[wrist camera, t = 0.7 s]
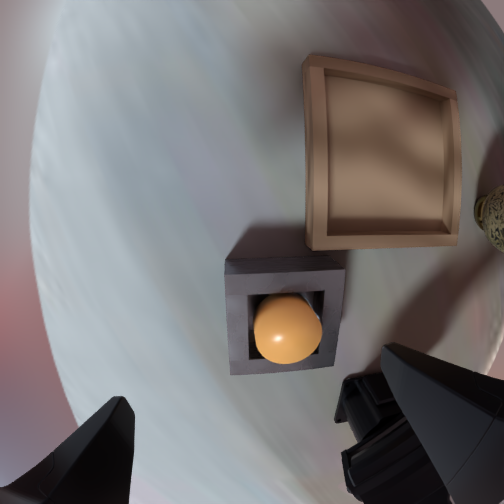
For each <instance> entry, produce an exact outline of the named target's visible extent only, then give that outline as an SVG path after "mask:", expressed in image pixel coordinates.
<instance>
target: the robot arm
mask: <svg viewBox="0 0 504 504" xmlns="http://www.w3.org/2000/svg"><path fill="white" fill-rule="evenodd" d="M381 369H382V371H383V372H382V373H377V374H373V375H368V376H363V377H358V378H352V379H347V380H345V381H344V382H343V383H342V388H341V392H340V397H339V401H338V405H337V409H336V413H335V417H334V421H335V423H342V422H347V421H348V423H349V425H350V427H351V429H352V431H353V433H354V436H355V438H356V440H357V442H358V443H357V444H356V445H354V446H352V447H351V448H349V449H347V450H344V451H343V452H341V455H342V464H343V470H344V476H345V482H346V486H347V491H348V492H349V493H351V494H353V495H354V497H355V498H356V499H358V500H359V501H361V502H363V503H364V504H504V380H500V379H497V378H493V377H490V376H486V375H483V374H480V373H477V372H473V371H471V370H468V369H466V368H463V367H460V366H457V365H454V364H451V363H449V362H446V361H443V360H440V359H438V358H435V357H432V356H429V355H427V354H424V353H421V352H419V351H416V350H413V349H411V348H408V347H405V346H403V345H400V344H397V343H395V342H391V343H389V344H386V345H384V346H383V347H382V353H381ZM347 384H348V385H347ZM134 434H135V414H134V411H133V410H132V408H131V406H130V405H129V403H128V401H127V400H126V398H125V397H123V396H114V397H112V398H111V399H110V400H109V401H108V402H107V403H105V404H104V405H103V406H102V407H101V408H100V409H99V410H98V411H97V412H96V413H95V414H93V415H92V416H91V417H90V418H89V419H88V420H87V421H86V422H85V423H84V424H82V425H81V426H80V427H79V428H78V429H77V430H76V431H75V432H74V433H72V434H71V435H70V436H69V437H68V438H67V439H66V440H65V441H64V442H62V443H61V444H60V445H59V446H58V447H57V448H56V449H55V450H54V452H51V453H50V454H49V455H48V456H47V457H46V458H45V459H43V460H42V461H41V462H40V463H38V464H37V465H36V466H35V467H33V468H32V469H31V470H29V471H28V472H26V473H25V474H24V475H22V476H21V477H19V478H18V479H17V480H15V481H14V482H12V483H11V484H9V485H7V486H4V487H0V504H129V495H130V484H131V474H132V466H133V457H134Z"/></svg>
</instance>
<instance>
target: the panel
mask: <svg viewBox="0 0 504 504" xmlns="http://www.w3.org/2000/svg"><path fill="white" fill-rule="evenodd" d="M345 271H346V269H345V268H343V267H342V266H341V265H340V264H339V263H337V262H336V261H335V260H334V259H332V258H331V257H330V256H308V257H282V258H254V259H225V273H224V277H225V297H226V315H227V331H228V347H229V362H230V375H247V374H264V373H277V372H288V371H298V370H307V369H315V368H323V367H330V366H334V361H335V355H336V348H337V341H338V334H339V327H340V319H341V311H342V302H343V293H344V283H345ZM291 292H293V293H296V294H299V295H300V296H302V297H303V298H305V299H306V300H307V301H308V303H309V304H310V306H311V308H312V309H313V311H314V313H315V314H316V316H317V318H318V319H319V321H320V323H321V326H322V337H321V340H320V343H319V345H318V346H317V348H316V349H315V350H314V352H313V353H311V354H310V355H309V356H308V357H306V358H305V359H303V360H301V361H298V362H295V363H290V364H279V363H274V362H272V361H269V360H268V359H266V358H265V357H263V356H262V354H261V353H260V352H259V350H258V348H257V345H256V340H255V334H254V328H253V315H254V312H255V310H256V308H257V306H258V305H259V304H260V303H261V301H263V300H264V299H265V298H266V297H268V296H270V295H272V294H275V293H291Z"/></svg>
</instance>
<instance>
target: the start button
mask: <svg viewBox="0 0 504 504" xmlns="http://www.w3.org/2000/svg"><path fill="white" fill-rule="evenodd" d="M253 328H254V334H255V340H256V345H257V348H258V350H259V352H260V353H261V354H262V356H263V357H265V358H266V359H268V360H269V361H272V362H274V363H279V364H290V363H295V362H298V361H301V360H303V359H305V358H306V357H308V356H309V355H310V354H311V353H313V352H314V350H315V349H316V348H317V346H318V345H319V343H320V340H321V337H322V326H321V323H320V321H319V319H318V318H317V316H316V314H315V313H314V311H313V309H312V308H311V306H310V304H309V303H308V301H307V300H306V299H305V298H303V297H302V296H300V295H299V294H296V293H293V292H291V293H275V294H272V295H270V296H268V297H266V298H265V299H264V300H263V301H261V303H260V304H259V305H258V306H257V308H256V310H255V312H254V315H253Z"/></svg>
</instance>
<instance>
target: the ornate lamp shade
mask: <svg viewBox="0 0 504 504" xmlns="http://www.w3.org/2000/svg"><path fill="white" fill-rule="evenodd" d="M474 216H475V221H476V223H477V225H478V226H479V227H480V228H481V229H482V230H484V232H485V235H486V237H487V238H488V240H489V241H490V243H491V244H492V245H493V246H494V247H496V248H497V249H498V250H500V251H501V252H503V253H504V185H500V186H498V187H496V188H494V189H493V190H492V191H491V192H490V193H489V194H488V195H484V196H482V197H480V198H479V199H478V201H477V203H476V206H475V211H474Z"/></svg>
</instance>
